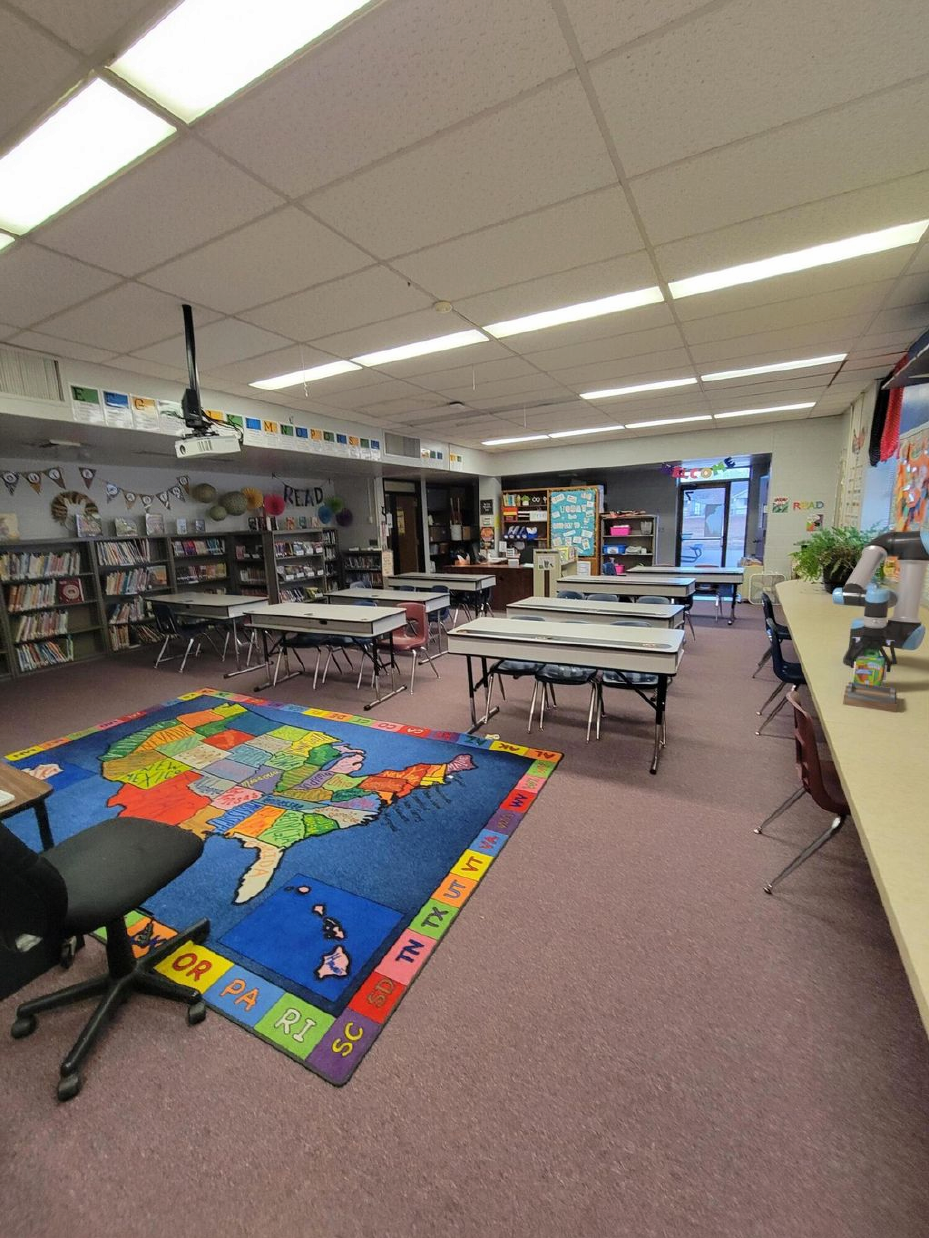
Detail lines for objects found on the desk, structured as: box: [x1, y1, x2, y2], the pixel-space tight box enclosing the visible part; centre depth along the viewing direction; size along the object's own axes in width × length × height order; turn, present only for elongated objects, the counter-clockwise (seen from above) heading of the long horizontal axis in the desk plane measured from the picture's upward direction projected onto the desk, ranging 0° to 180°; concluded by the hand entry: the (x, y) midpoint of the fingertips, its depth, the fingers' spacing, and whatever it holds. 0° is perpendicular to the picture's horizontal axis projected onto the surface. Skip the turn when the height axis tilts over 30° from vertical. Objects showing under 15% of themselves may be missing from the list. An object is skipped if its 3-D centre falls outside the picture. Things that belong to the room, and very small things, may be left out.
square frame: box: [842, 681, 898, 713], centre depth 196 cm, size 16×16×5 cm
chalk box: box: [853, 649, 886, 686], centre depth 208 cm, size 9×9×15 cm
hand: (869, 677), depth 209 cm, fingers closed on chalk box, 9 cm apart
